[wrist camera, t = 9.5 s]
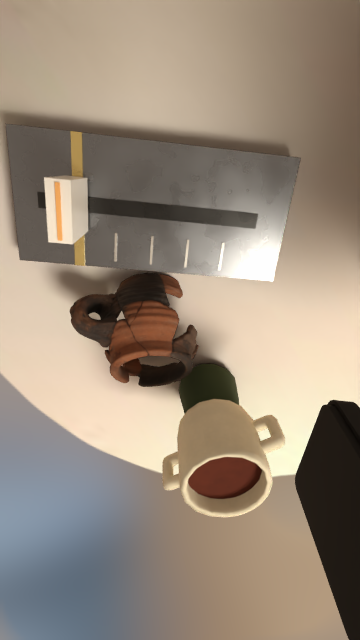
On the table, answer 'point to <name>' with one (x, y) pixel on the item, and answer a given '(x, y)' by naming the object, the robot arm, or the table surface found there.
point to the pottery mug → (138, 329)
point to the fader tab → (66, 208)
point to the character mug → (220, 447)
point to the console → (154, 203)
